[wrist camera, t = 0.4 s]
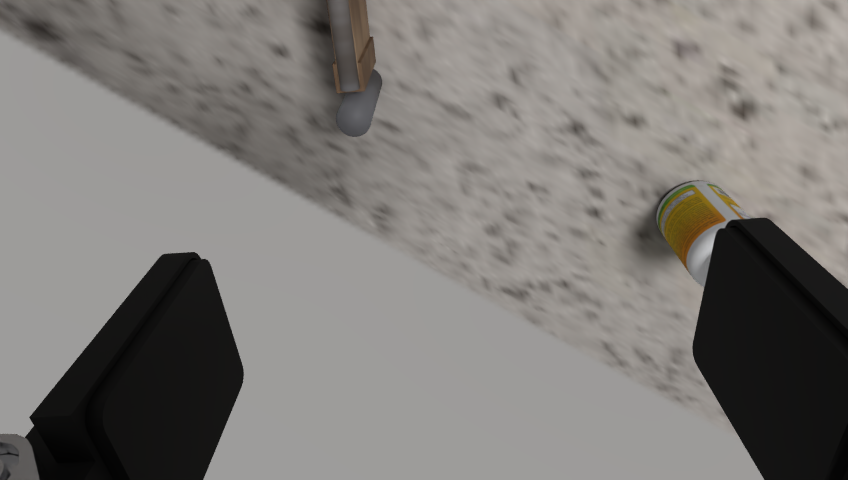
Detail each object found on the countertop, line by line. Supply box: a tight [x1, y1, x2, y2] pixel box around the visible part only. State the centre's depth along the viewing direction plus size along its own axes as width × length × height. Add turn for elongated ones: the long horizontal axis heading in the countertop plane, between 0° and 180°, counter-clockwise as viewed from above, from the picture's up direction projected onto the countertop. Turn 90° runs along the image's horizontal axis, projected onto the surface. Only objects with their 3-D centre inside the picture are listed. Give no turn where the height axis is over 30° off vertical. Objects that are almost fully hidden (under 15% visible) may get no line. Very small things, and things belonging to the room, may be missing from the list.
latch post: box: [336, 69, 382, 137], centre depth 36 cm, size 2×2×8 cm
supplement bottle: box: [656, 181, 751, 287], centre depth 40 cm, size 5×5×10 cm
